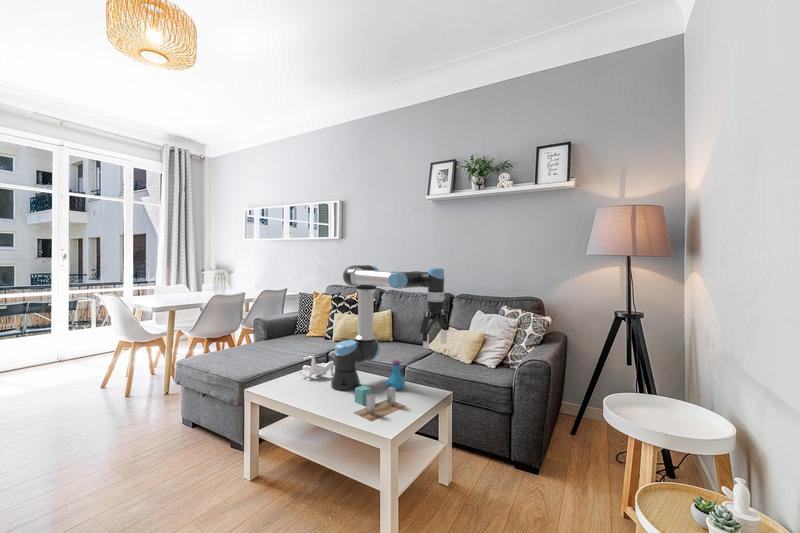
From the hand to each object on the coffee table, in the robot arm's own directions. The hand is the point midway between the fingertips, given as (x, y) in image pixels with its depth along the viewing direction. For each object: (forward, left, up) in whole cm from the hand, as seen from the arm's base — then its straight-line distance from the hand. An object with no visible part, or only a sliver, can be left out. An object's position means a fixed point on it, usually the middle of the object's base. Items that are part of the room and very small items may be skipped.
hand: (434, 345), depth 172 cm
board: (-12, -23, -28) cm, 38 cm away
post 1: (-12, -29, -27) cm, 42 cm away
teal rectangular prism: (-24, -23, -28) cm, 44 cm away
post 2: (-12, -16, -27) cm, 34 cm away
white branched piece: (-71, -15, -28) cm, 78 cm away
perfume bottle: (-26, +2, -28) cm, 39 cm away
